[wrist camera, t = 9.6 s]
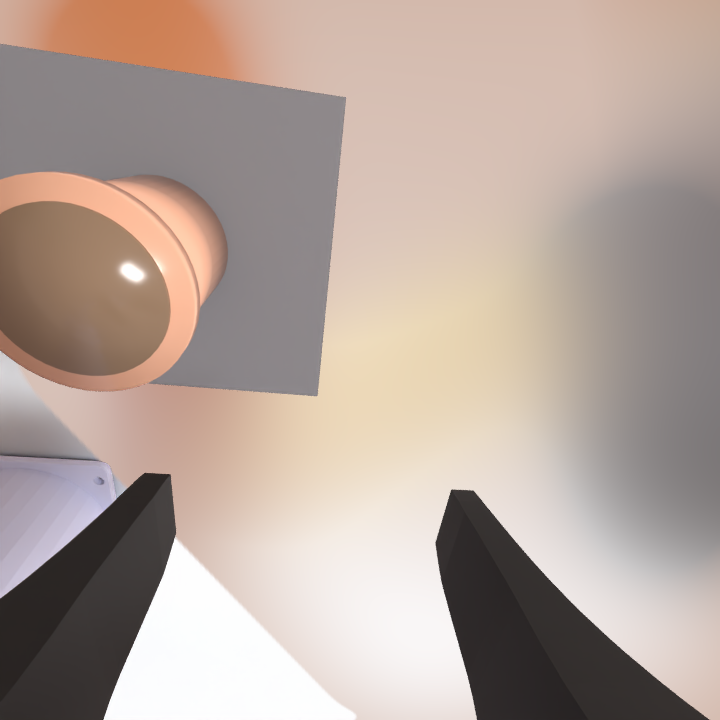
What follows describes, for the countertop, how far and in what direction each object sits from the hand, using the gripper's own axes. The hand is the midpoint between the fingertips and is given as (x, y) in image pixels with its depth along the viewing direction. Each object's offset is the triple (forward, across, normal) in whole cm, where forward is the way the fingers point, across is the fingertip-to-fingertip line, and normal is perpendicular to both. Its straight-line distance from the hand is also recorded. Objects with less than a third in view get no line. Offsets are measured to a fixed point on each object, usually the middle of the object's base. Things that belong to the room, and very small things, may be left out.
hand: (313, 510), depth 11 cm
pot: (+9, +6, -4) cm, 12 cm away
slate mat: (+9, +6, -4) cm, 12 cm away
